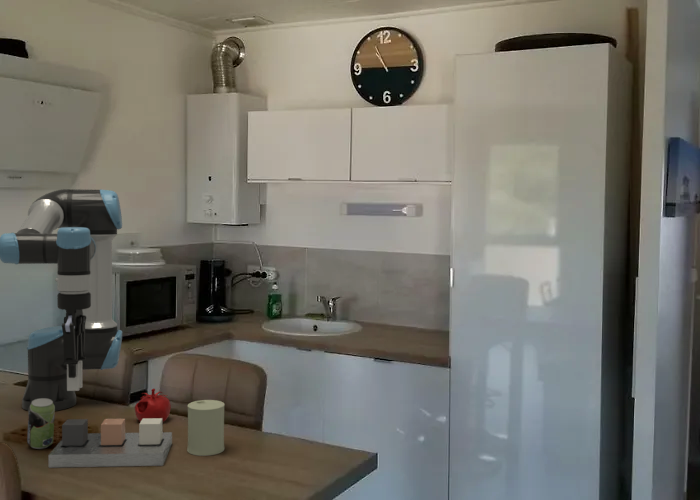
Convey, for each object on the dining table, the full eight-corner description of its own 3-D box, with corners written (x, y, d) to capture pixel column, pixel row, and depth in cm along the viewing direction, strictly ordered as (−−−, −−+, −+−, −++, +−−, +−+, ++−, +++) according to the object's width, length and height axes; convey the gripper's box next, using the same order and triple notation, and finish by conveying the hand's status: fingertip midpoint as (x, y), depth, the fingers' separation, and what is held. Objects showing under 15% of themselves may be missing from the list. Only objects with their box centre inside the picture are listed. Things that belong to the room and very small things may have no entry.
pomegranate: (169, 415, 222) (169, 383, 221) (172, 424, 212) (173, 391, 212) (133, 417, 218) (134, 384, 218) (135, 426, 209) (136, 393, 209)
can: (210, 441, 198) (211, 395, 197) (231, 450, 191) (232, 403, 190) (179, 449, 191) (180, 402, 190) (200, 458, 185) (200, 409, 184)
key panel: (67, 445, 193) (67, 433, 192) (171, 443, 195) (171, 432, 195) (48, 467, 177) (48, 454, 177) (163, 465, 179) (163, 453, 179)
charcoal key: (67, 439, 187) (67, 419, 187) (87, 439, 188) (87, 419, 187) (62, 445, 182) (62, 425, 182) (82, 445, 183) (82, 424, 182)
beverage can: (45, 440, 196) (45, 394, 195) (60, 447, 191) (60, 400, 190) (21, 446, 191) (21, 399, 190) (36, 453, 186) (36, 405, 186)
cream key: (142, 438, 189) (142, 418, 189) (162, 438, 189) (162, 418, 189) (139, 444, 184) (139, 424, 184) (159, 444, 185) (159, 423, 184)
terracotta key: (105, 438, 188) (105, 418, 188) (125, 438, 188) (125, 418, 188) (100, 445, 183) (100, 424, 183) (121, 444, 184) (121, 424, 183)
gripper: (66, 288, 190) (67, 381, 191) (48, 295, 175) (49, 397, 176) (97, 288, 190) (98, 381, 192) (82, 296, 175) (83, 396, 177)
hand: (74, 388), depth 184 cm, fingers open, 2 cm apart
